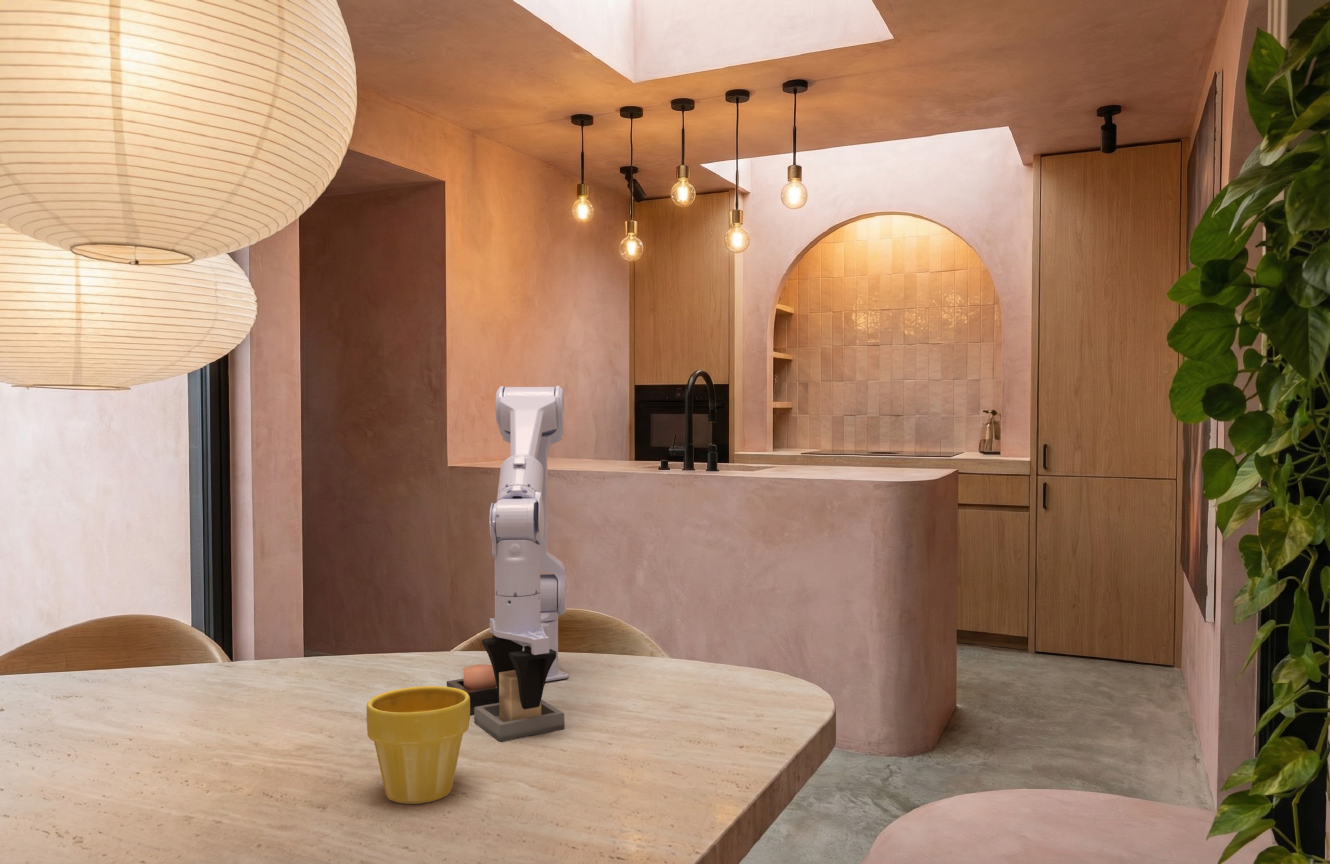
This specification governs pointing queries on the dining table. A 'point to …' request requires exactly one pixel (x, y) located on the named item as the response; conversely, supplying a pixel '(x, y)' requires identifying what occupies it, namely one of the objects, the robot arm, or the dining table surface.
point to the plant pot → (418, 740)
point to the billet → (512, 699)
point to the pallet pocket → (518, 722)
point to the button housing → (477, 694)
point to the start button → (479, 677)
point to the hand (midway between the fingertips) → (518, 699)
